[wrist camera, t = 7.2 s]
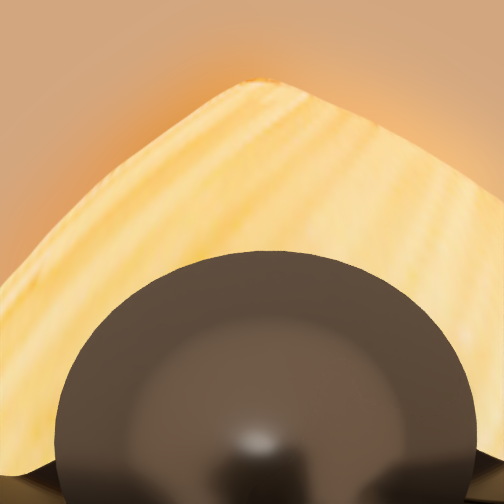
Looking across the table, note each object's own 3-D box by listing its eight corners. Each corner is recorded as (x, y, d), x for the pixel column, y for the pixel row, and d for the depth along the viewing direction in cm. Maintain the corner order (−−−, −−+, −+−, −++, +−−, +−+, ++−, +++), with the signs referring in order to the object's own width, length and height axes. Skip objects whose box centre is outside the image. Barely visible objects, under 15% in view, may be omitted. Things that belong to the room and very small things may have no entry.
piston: (232, 480, 12) (132, 637, 1) (205, 397, 14) (30, 302, 3) (323, 452, 12) (510, 518, 1) (293, 371, 15) (383, 202, 4)
